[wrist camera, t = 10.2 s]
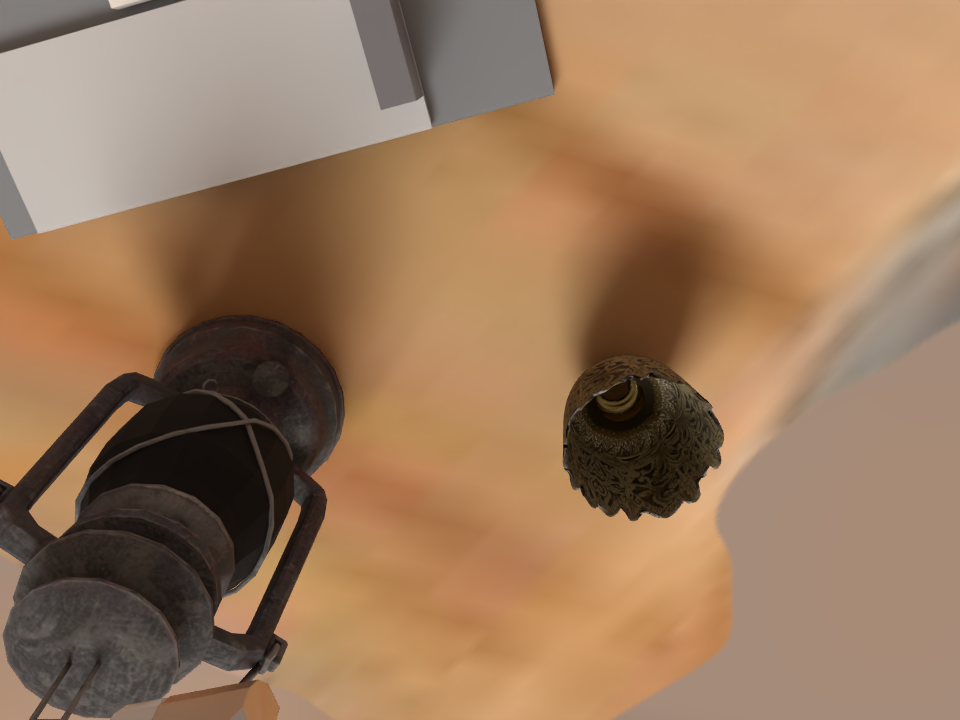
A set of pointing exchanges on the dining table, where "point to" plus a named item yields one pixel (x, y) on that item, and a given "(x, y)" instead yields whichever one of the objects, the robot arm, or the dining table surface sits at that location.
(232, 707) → the robot arm
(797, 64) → the dining table surface
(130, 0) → the white strip
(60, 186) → the grey strip
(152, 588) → the lantern
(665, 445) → the dark ornate pot
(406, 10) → the slate board
